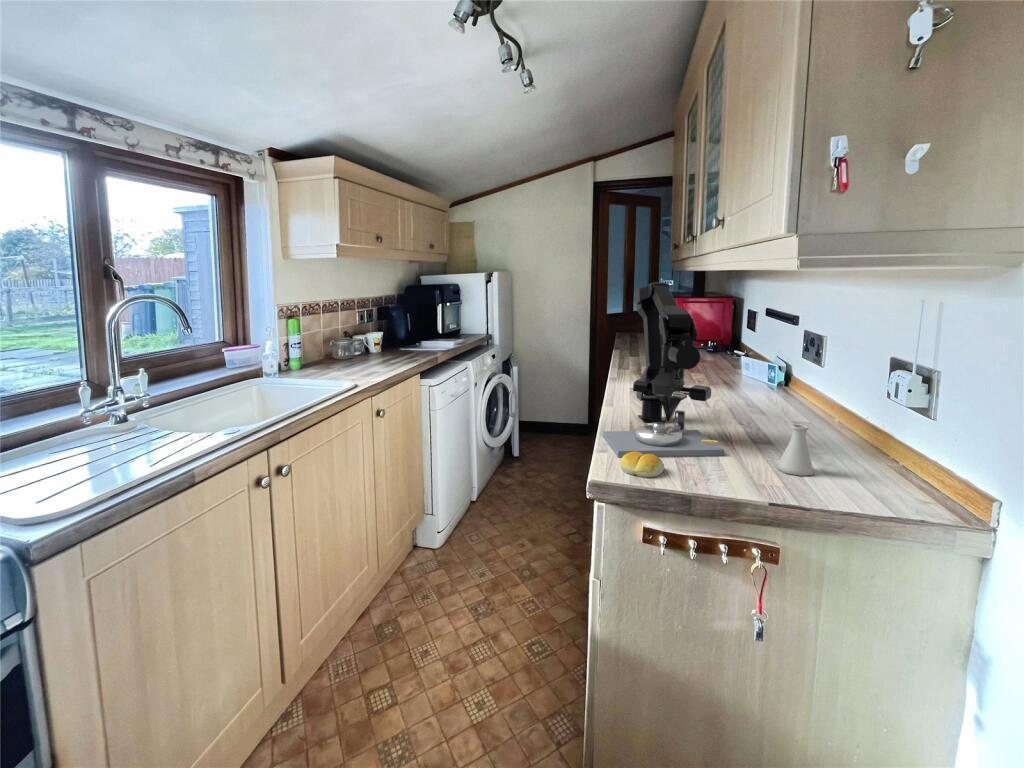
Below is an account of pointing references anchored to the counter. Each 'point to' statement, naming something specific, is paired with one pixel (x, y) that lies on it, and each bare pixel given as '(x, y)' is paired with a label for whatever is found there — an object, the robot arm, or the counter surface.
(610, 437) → the slate board
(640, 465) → the bread roll
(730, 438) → the counter surface
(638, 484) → the counter surface
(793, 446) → the flask
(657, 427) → the silver round handled piece
